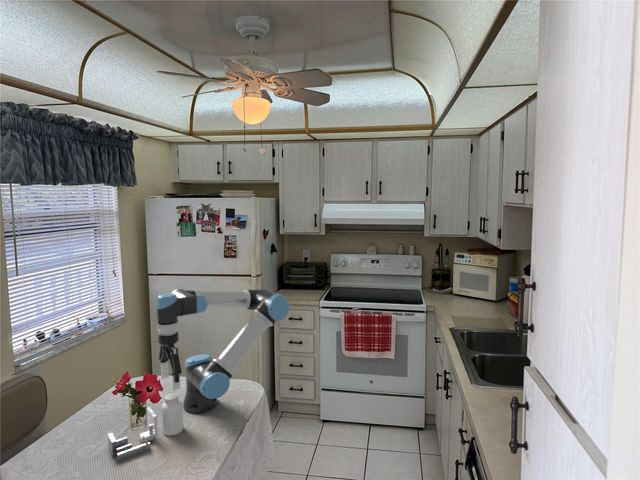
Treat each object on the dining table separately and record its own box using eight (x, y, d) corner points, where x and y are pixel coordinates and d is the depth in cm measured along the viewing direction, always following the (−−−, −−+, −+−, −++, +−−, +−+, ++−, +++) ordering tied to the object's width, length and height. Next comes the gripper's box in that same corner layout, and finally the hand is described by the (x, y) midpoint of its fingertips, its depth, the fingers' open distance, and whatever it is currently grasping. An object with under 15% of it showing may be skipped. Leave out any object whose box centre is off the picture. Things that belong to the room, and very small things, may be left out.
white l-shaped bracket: (151, 431, 169) (149, 406, 167) (160, 445, 159) (159, 419, 158) (137, 435, 165) (136, 411, 164) (146, 450, 156) (145, 424, 155)
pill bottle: (162, 437, 165) (160, 402, 163) (163, 426, 172) (162, 392, 171) (182, 434, 167) (181, 399, 165) (183, 424, 175) (182, 390, 173)
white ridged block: (142, 436, 166) (142, 422, 165) (150, 449, 157) (149, 434, 157) (108, 448, 158) (107, 433, 157) (115, 462, 150) (114, 447, 149)
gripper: (149, 326, 172) (151, 375, 175) (169, 343, 153) (171, 397, 155) (167, 323, 177) (169, 370, 179) (189, 339, 158) (191, 391, 160)
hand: (170, 383), depth 167 cm, fingers open, 13 cm apart
